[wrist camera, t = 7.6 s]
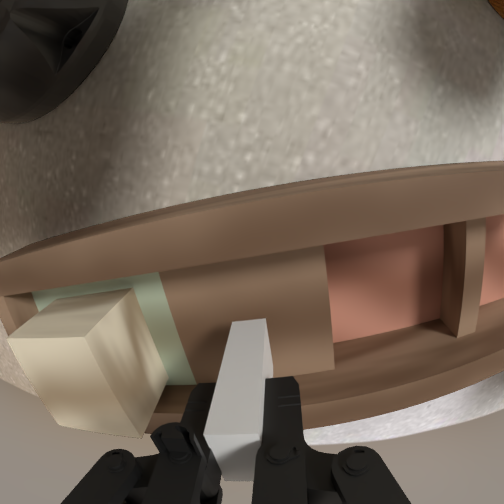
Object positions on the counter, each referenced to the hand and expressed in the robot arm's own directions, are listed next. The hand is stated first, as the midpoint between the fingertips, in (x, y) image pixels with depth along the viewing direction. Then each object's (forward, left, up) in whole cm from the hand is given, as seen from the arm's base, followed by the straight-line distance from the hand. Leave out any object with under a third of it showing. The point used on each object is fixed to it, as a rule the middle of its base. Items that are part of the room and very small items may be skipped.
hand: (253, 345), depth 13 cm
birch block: (0, -9, -2) cm, 9 cm away
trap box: (0, +2, -5) cm, 5 cm away
